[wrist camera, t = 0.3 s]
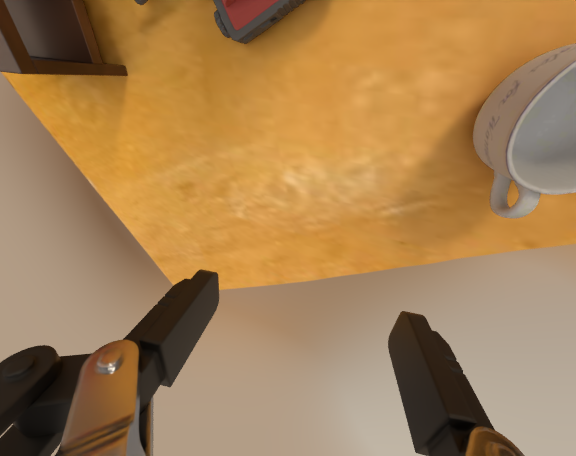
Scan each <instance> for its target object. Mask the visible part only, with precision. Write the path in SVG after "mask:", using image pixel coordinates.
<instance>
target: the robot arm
mask: <svg viewBox="0 0 576 456" xmlns="http://www.w3.org/2000/svg"><path fill="white" fill-rule="evenodd" d="M218 302H219V283H218V274H217V273H216V272H211V271H206V270H199V271H198V272H197V273H196V274H195V275H194V276H193V277H192V278H191V280H190V279H184V280H182V281H181V282H179V283H177V284H175V285H174V286H173V287H172V288H171V289H170V290H169V291H168V292H167V293H166V294H165V297H163V298H162V299H161V300H160V301H159V302H158V304H157V305H155V306H154V307H153V308H152V310H150V311H149V313H148V314H147V315H146V316H145V317H144V318H143V319H142V320H141V321H140V322H139V323H138V325H136V326H135V328H134V329H133V330H132V331H131V332H130V333H129V334H128V335H127V336H126V337H125V338H124V339H123V340H118V341H114V342H111V343H108V344H106V345H104V346H102V347H101V348H99V349H98V350H96V351H95V352H94V353H92V354H83V355H72V356H61V357H59V356H58V354H57V353H56V351H55V349H54V348H52V347H50V346H45V345H43V346H35V347H31V348H28V349H25V350H22V351H20V352H18V353H16V354H14V355H12V356H10V357H8V358H7V359H5V360H3V361H2V362H1V363H0V436H1V435H2V433H4V432H5V431H6V429H7V428H8V427H9V426H10V425H11V424H12V423H13V425H12V427H11V428H10V429H9V430H8V431H7V432H6V433H5V434H4V435H3V436H2V437H1V438H0V456H51V454H52V453H53V452H54V450H55V449H56V448H57V446H58V445H59V444H60V443H61V444H60V447H59V450H58V452H57V453H56V455H55V456H153V395H154V394H155V392H156V391H157V389H158V387H159V386H160V385H163V386H167V387H171V386H172V384H173V382H174V380H175V379H176V377H177V375H178V374H179V372H180V370H181V369H182V367H183V365H184V364H185V362H186V360H187V359H188V357H189V355H190V353H191V352H192V350H193V348H194V347H195V345H196V343H197V342H198V340H199V338H200V337H201V335H202V333H203V331H204V330H205V328H206V326H207V325H208V323H209V321H210V320H211V318H212V316H213V314H214V312H215V311H216V309H217V306H218ZM388 348H389V353H390V357H391V360H392V365H393V368H394V372H395V376H396V380H397V384H398V387H399V391H400V395H401V399H402V403H403V406H404V410H405V414H406V418H407V422H408V426H409V429H410V433H411V437H412V441H413V445H414V448H415V452H416V453H419V454H422V455H426V456H524V455H523V453H522V452H521V451H520V450H519V449H518V448H517V447H516V446H515V445H514V444H513V443H512V442H511V441H510V440H508V439H507V438H506V437H505V436H503V435H502V434H500V433H498V432H497V431H495V429H494V428H493V426H492V424H491V423H490V421H489V419H488V417H487V415H486V413H485V411H484V409H483V408H482V406H481V404H480V402H479V400H478V398H477V396H476V394H475V393H474V391H473V389H472V387H471V385H470V383H469V381H468V380H467V378H466V376H465V375H464V374H463V370H462V368H461V367H460V365H459V363H458V362H457V361H456V357H455V355H454V353H453V352H452V350H451V348H450V346H449V344H448V343H447V342H446V341H445V340H444V339H443V338H442V337H441V336H440V334H439V333H438V332H436V331H432V330H431V328H430V326H429V324H428V322H427V320H426V318H425V317H424V316H423V315H420V314H415V313H410V312H405V311H402V312H401V313H400V315H399V317H398V319H397V321H396V323H395V325H394V327H393V329H392V331H391V333H390V336H389V340H388Z"/></svg>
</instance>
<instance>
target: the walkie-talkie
mask: <svg viewBox="0 0 576 456" xmlns="http://www.w3.org/2000/svg"><path fill="white" fill-rule="evenodd" d="M135 1H136V2H137V3H138V4H140V5H144V4H145V3H146V2H147V1H148V0H135ZM213 1H214V3H215V5H216V7H217V11H216V12H215V13H214V17H215V20H216V23H217V25H218V27H219V29H220V30H221V32H222V33H223V35H224V36H225V37H227V38H230V37H231V38H232V39H233V40H235V41H238V42H240V43H244V44H247V43H248V42H249V41H251V40H252V39H254V38H255V37H257V36H258V35H259V34H261V33H262V32H264V31H265V30H266V29H268V28H269V27H271V26H272V25H273V24H275V23H276V22H278V21H279V20H280V19H282V18H283V16H284V15H287V14H288V12H290V11H293V9H294V8H295V7H298V5H300V4H301V3H302V4H303V3H304V1H305V0H213Z"/></svg>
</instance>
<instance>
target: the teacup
mask: <svg viewBox="0 0 576 456" xmlns="http://www.w3.org/2000/svg"><path fill="white" fill-rule="evenodd" d="M473 143H474V148H475V150H476V153H477V155H478V156H479V158H480V159H481V160H482V161H483V162H484V163H485V164H486V165H487V166H489V167H490V168H492V169H493V170H494V181H493V184H492V189H491V193H490V206H491V209H492V210H493V212H494V213H496V214H497V215H499V216H501V217H505V218H520V217H523V216H526V215H528V214H529V213H530V212H531V211H533V210H534V209H535V207H536V206H537V204H538V202H539V198H540V193H542V194H567V193H576V43H575V44H571V45H567V46H564V47H560V48H557V49H554V50H552V51H549V52H547V53H545V54H542V55H540V56H538V57H536V58H534V59H532V60H531V61H529V62H527V63H525V64H524V65H522V66H521V67H519V68H518V69H516V70H515V71H514V72H513V73H511V74H510V75H509V76H508V77H506V78H505V79H504V80H503V81H502V82H501V83H500V84H499V85H498V86H497V87H496V88H495V89H494V91H493V92H492V93H491V94H490V95H489V97H488V98H487V100H486V101H485V103H484V104H483V106H482V108H481V110H480V112H479V113H478V116H477V118H476V121H475V125H474V130H473ZM511 180H514V181H515V185H516V186H517V188H518V190H519V198H518V200H517V202H516V203H515V204H514V205H513V206H512V207H509V206H508V204H507V194H508V189H509V185H510V182H511Z"/></svg>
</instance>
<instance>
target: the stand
mask: <svg viewBox="0 0 576 456" xmlns="http://www.w3.org/2000/svg"><path fill="white" fill-rule="evenodd" d="M0 71H1V72H10V73H18V74H50V75H105V76H127V71H126V68H125V66H123V65H114V64H104V63H103V62H102V59H101V56H100V53H99V50H98V47H97V44H96V40H95V37H94V34H93V31H92V28H91V25H90V22H89V18H88V15H87V12H86V9H85V6H84V3H83V0H0Z"/></svg>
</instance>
